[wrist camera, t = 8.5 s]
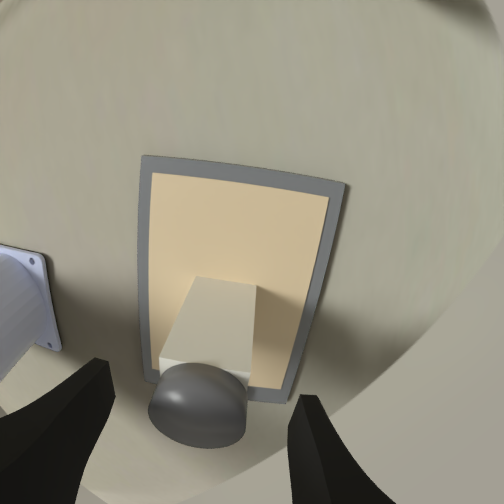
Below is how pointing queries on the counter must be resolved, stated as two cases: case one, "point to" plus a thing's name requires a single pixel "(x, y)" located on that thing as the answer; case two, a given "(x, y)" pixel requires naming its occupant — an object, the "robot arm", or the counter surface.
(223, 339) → the block with domed cap
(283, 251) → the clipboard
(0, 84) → the counter surface
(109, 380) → the robot arm
